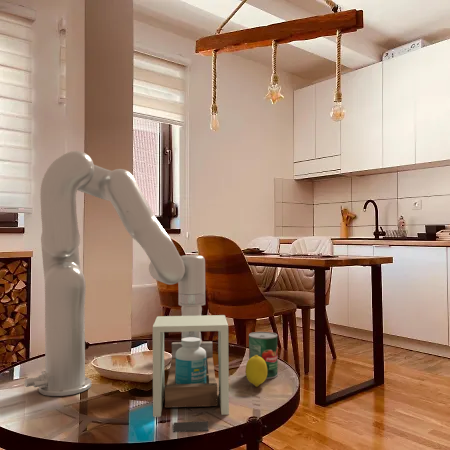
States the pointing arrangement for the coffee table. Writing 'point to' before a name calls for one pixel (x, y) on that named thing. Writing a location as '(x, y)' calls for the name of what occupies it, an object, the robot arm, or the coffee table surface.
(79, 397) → the coffee table surface
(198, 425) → the mat
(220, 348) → the tunnel
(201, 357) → the pill bottle
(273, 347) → the canned tomato
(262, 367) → the lemon
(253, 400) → the coffee table surface
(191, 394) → the wooden compartment tray
